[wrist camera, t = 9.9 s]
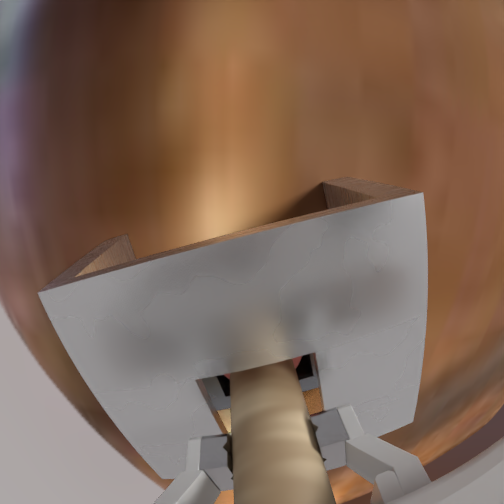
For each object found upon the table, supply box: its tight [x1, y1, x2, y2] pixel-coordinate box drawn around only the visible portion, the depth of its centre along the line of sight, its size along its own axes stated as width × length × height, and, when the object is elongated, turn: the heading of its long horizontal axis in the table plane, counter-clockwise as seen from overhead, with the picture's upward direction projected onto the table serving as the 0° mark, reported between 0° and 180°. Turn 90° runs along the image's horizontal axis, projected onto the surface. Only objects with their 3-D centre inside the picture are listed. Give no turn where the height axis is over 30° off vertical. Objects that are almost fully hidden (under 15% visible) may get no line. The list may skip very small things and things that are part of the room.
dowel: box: [230, 359, 336, 504], centre depth 10 cm, size 3×3×10 cm
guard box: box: [38, 177, 428, 479], centre depth 14 cm, size 14×12×7 cm
